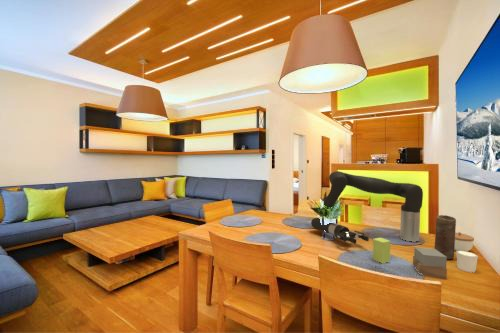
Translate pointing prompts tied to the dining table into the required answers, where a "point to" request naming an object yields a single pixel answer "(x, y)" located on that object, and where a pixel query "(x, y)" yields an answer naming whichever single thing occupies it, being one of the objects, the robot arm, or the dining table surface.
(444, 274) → the walnut base block
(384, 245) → the lime pillar
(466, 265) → the white short cylinder
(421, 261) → the charcoal top block
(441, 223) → the candle
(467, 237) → the lidded jar
